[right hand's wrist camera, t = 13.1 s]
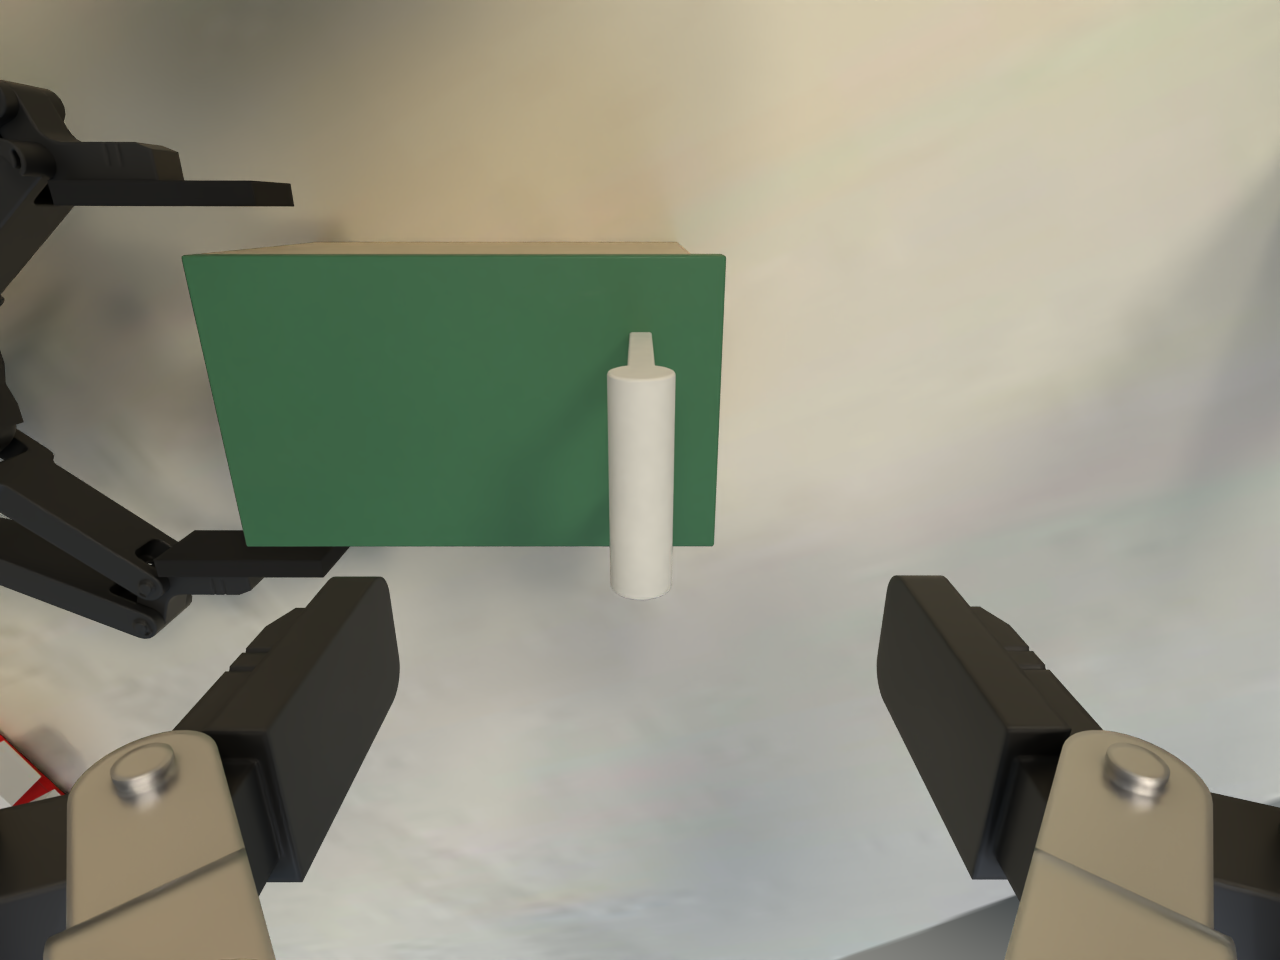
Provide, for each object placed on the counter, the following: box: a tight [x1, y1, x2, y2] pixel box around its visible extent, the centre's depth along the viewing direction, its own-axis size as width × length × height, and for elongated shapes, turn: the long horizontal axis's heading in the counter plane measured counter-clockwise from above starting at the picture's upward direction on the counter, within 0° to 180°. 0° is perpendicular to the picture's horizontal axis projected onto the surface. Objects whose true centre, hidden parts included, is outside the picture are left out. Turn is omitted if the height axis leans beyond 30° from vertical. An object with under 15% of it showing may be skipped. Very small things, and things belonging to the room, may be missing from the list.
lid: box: [182, 254, 726, 600], centre depth 20 cm, size 17×10×8 cm, turn 90°
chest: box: [203, 242, 690, 254], centre depth 28 cm, size 16×10×9 cm, turn 90°
